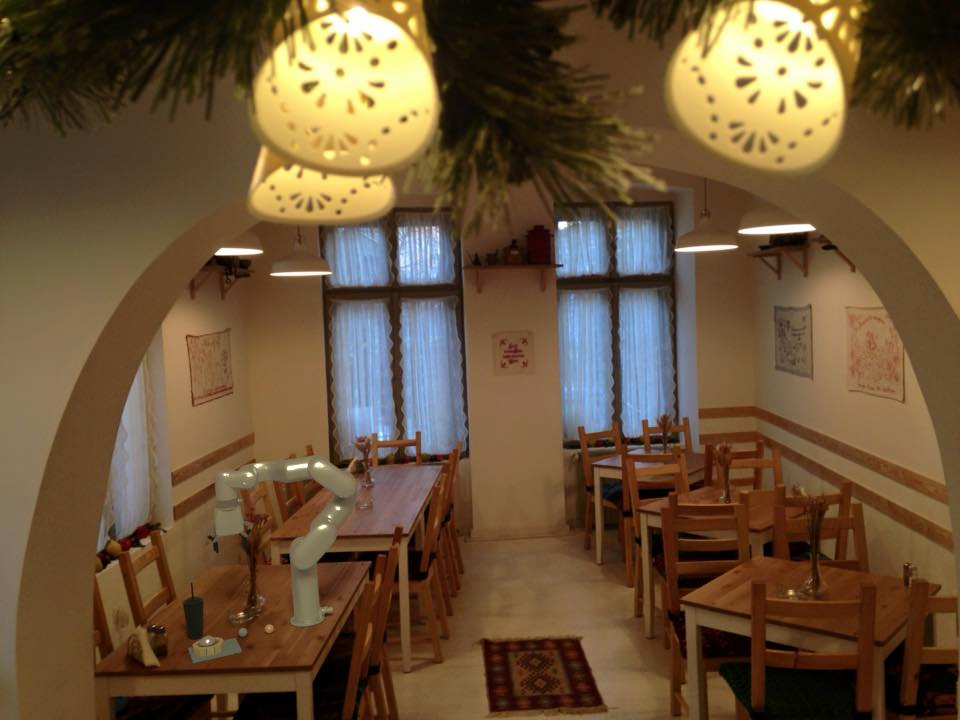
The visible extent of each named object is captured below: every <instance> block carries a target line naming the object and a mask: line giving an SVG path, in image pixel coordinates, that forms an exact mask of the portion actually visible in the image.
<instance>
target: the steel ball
mask: <svg viewBox="0 0 960 720" xmlns="http://www.w3.org/2000/svg"><path fill="white" fill-rule="evenodd" d="M213 637H214V636H212V635H204V636H203V637H201V638H200V640H201V641H200V647H209V646H213V645H215V639H214V638H213Z"/></svg>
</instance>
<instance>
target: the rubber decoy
mask: <svg viewBox="0 0 960 720" xmlns="http://www.w3.org/2000/svg"><path fill="white" fill-rule="evenodd" d="M237 633H238V636H239V637H240V638H245V637H246V636H247V635H248V630H247V628H245V627H241V628H239V629H238V632H237Z"/></svg>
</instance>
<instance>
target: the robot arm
mask: <svg viewBox="0 0 960 720" xmlns="http://www.w3.org/2000/svg"><path fill="white" fill-rule="evenodd" d="M213 478H214V490H215V501H216V502H215V503H216V507H215V508H214V509H213V525H211V526H210V527H208V528H206V530H204V531H203V532H204V535H205V536H206V538H207V539H208V540H210V541H211V542H212V545H213V547H212V548H213V551H214V552H215V553H216V554H219V553H220V552H219V551H220V549H219V542H218V540H219V538H220V537H226V536H232V535H238V534H241V544H242V548H243V549H247V546H248V536H249V535H250V534H251V533H252V531H253V528H254V523H252V522H250V521H247V520H244V517H243V513H242V509H241V508H242V507H241V505H240V503H242V502H243V498H239V497H238V490H250V489H253V488H254V487H255V486H256V485H257V483H263V482H270V481H271V482H272V481H273V482H274V481H276V482H281V483H286V484H287V483H294V482H300V481H306V480H313V481H315V482H316V483H317V484H319V485H321V486H322V487H324V489H326V490H327V491H330V492H331V493H333V494H334V495H333V497H332V498H331V500H330V501H329V502H328V504H326V506H325V508H324V509H322V511H321V512H320V513H319V514H318V515H316V517H315V518H314V519H313V520H312V522H311V523H310V526H309V532H308V533H307V534H306V535H305V536H303V535H302V536H298V537H296V538H295V539H293V541H292V542H291V543H290V545H289V549H288V552H289V561H290V562H289V563H290V571H291V572H290V573H291V589H292V591H291V592H292V603H293V616H292V617H290V625H292V626H294V627H299V628H301V627H302V628H303V627H311V626H316V625H318V624H320V623H322V622H324V620H325V618H326V617H325V615H326V614H327V613H332V612H333V611H334V609H333V606H329V607H328V606H327V605H326V606H321V605H320V593H319V589H320V588H319V576H318V565H317V562H319V561H320V559H321V558H322V557H323V556H324V555H325V553H326V552H327V551H329V550H330V548H331V547H332V546H333V544H334V543H335V541H336V540H337V536H338V528H339V527H340V526H341V524H342V523H343V522H344V521H345V520H346V518H347V517H348V516H349V515H350V514H351V512H352V510H354V507H355V505H356V503H357V502H356V501H357V498H358V497H357V495H358V482H357V480H356V478H355V476H354V475H353V474H352V473H351V472H349V471H347V470H342V469H340V468H339V467H337V466H336V465H334V464H333V463H331V462H330V460H329V459H328V457H326V456H325V455H323V454H315V455H308V456H301V457H295V458H289V459H277V460H267V461H259V462H253V463H247V464H244V465H242V466H240V468H238V470H235V469H233V468H232V469H231V468H225V469H219V470H217V471H216V472H214V477H213ZM245 526H246V527H247V526H248V527H247V529H246V530H245ZM211 532H214V535H213V536H212V535H211V534H210V533H211Z"/></svg>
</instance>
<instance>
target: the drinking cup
mask: <svg viewBox="0 0 960 720" xmlns="http://www.w3.org/2000/svg"><path fill="white" fill-rule="evenodd" d="M190 592H191V596H189V597H187V598H185V599H183V600H182V601H181V604H182V607H183V612H184V618H185V623H186V629H187V630H186V631H187V635H188V640H191V641H192V640H194V641H195V640H200V639H202V638H203V637H204V601H205V598H204V597H203V596H199V595H194V583H193V582H190Z"/></svg>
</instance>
